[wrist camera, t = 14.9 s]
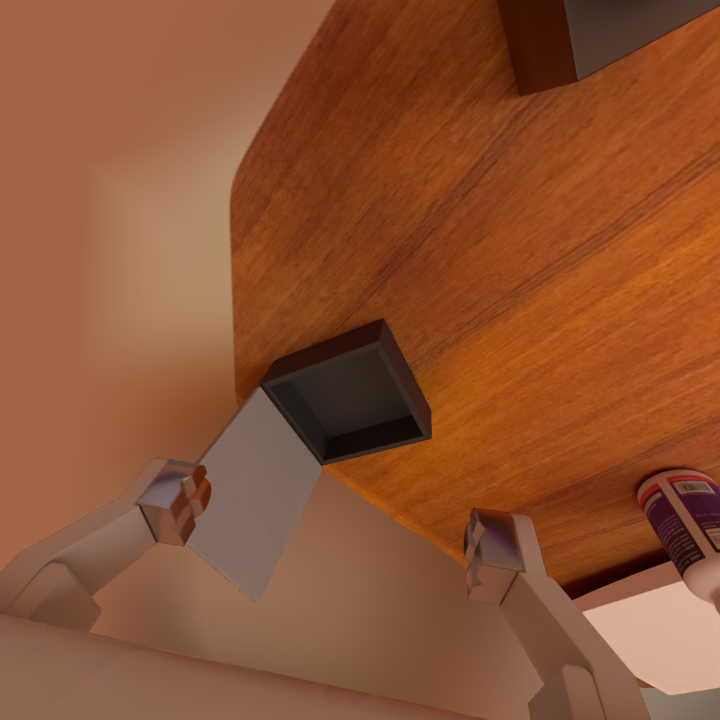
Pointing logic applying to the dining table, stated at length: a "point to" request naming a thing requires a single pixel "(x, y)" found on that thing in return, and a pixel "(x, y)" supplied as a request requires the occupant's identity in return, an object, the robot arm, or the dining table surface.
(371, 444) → the dark grey square tray
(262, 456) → the grey box lid
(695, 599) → the board
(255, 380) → the dining table surface
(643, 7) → the stand
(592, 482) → the dining table surface
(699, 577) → the pill bottle
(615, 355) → the dining table surface
